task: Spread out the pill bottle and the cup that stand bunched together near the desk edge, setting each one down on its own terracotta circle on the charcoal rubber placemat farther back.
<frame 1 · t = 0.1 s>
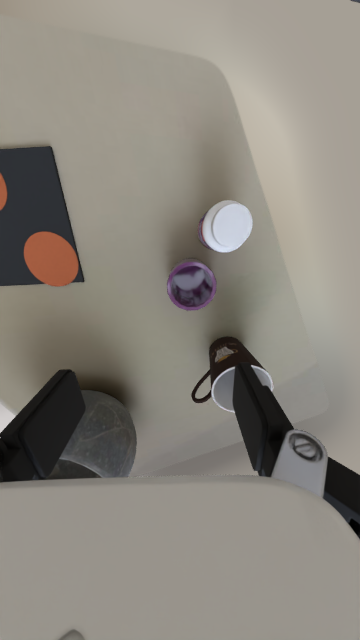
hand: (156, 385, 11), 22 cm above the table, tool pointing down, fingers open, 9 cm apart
coffee mug: (217, 351, 36), on the table
pill bottle: (215, 230, 28), on the table
bowl: (97, 407, 42), on the table
placemat: (22, 225, 27), on the table
cup: (189, 279, 31), on the table
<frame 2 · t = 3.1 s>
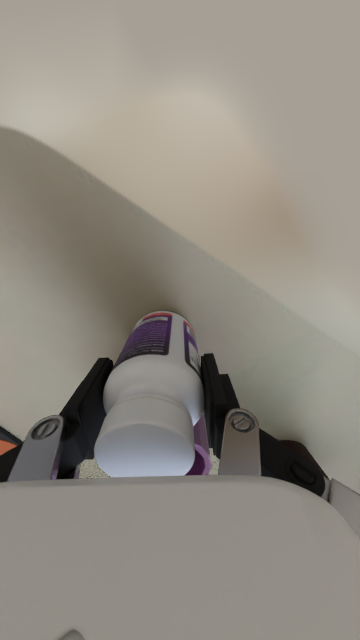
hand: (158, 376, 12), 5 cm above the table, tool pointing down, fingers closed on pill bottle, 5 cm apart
coffee mug: (268, 461, 23), on the table
pill bottle: (164, 337, 17), on the table, touching gripper
cup: (170, 407, 19), on the table
when the fingers open (5 cm above the table, at t = 11.2 s): pill bottle stays where it is, resting on placemat.
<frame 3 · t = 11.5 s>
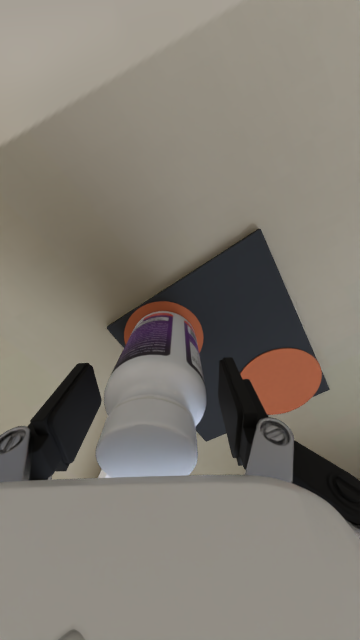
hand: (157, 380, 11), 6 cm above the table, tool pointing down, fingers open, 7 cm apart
pill bottle: (164, 337, 16), resting on placemat
placemat: (225, 358, 18), on the table
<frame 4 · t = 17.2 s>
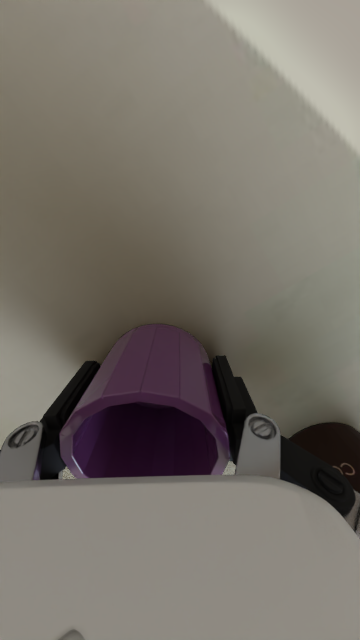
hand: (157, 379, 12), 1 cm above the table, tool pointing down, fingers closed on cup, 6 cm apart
coffee mug: (301, 454, 16), on the table
cup: (159, 369, 13), on the table, touching gripper
when the fingers open (1 cm above the table, at t = 25.4 s): cup stays where it is, resting on placemat.
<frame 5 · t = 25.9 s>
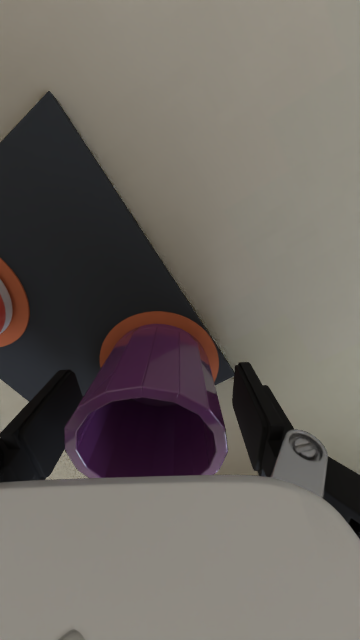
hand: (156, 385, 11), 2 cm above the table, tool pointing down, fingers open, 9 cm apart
placemat: (77, 329, 12), on the table
cup: (159, 367, 13), resting on placemat
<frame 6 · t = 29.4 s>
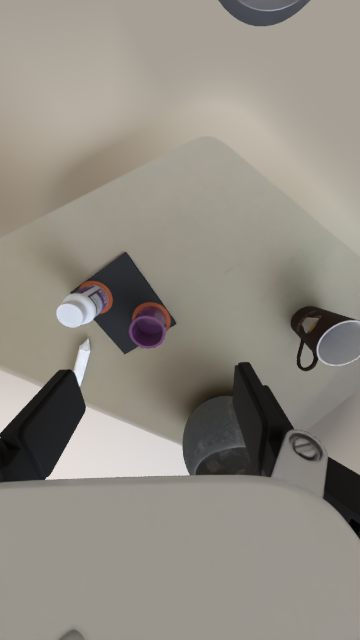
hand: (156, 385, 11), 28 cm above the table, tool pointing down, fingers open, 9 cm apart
coffee mug: (299, 324, 41), on the table
pill bottle: (96, 297, 38), resting on placemat
bowl: (220, 409, 50), on the table
placemat: (125, 308, 39), on the table
cup: (151, 320, 40), resting on placemat
white pencil: (83, 362, 45), on the table
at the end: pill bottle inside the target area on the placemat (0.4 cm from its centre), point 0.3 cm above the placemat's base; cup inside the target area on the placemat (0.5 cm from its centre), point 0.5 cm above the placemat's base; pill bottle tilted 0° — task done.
